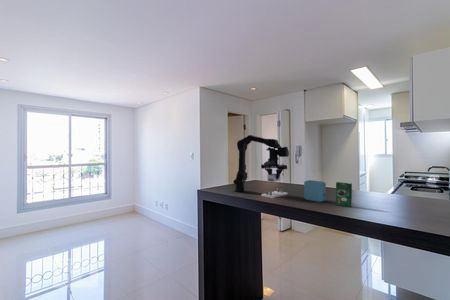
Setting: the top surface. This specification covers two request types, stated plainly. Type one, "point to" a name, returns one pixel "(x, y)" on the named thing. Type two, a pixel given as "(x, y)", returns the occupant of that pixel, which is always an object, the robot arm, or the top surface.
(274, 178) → the drive
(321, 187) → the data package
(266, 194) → the pin tray
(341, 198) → the coffee box
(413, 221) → the top surface
